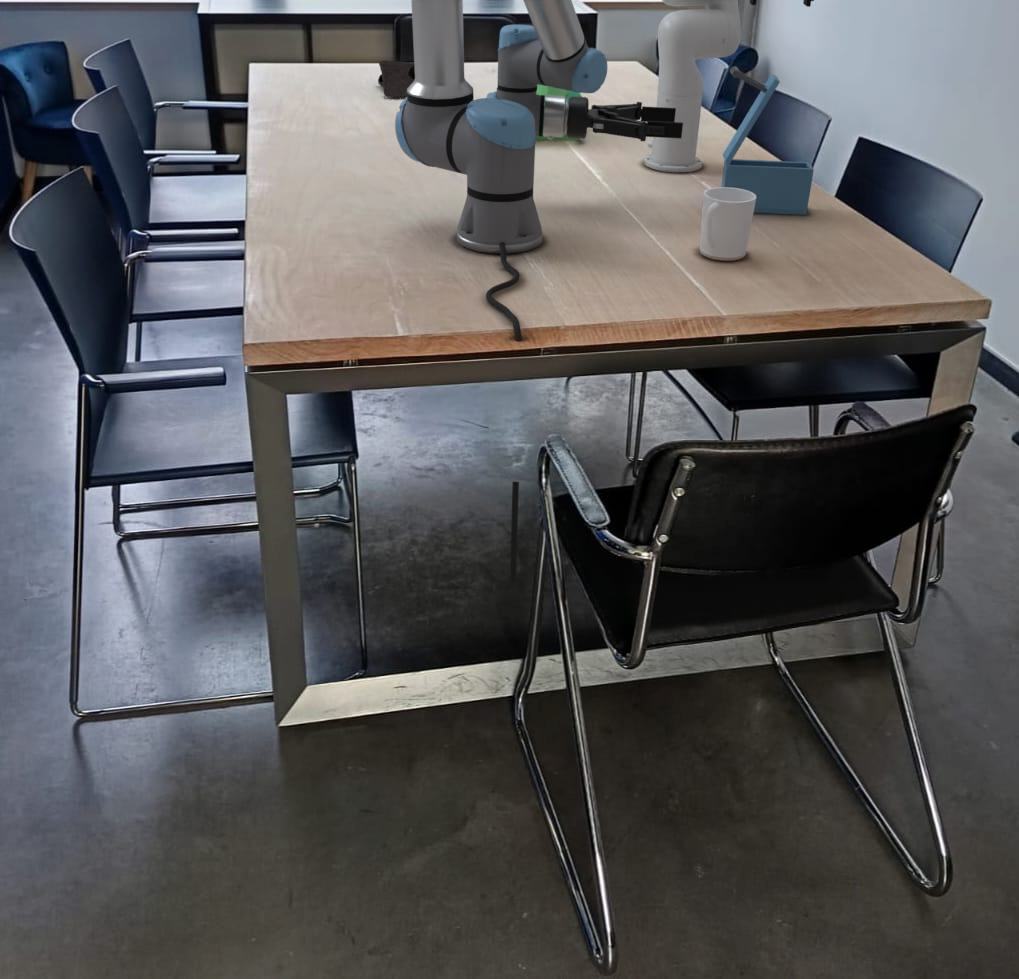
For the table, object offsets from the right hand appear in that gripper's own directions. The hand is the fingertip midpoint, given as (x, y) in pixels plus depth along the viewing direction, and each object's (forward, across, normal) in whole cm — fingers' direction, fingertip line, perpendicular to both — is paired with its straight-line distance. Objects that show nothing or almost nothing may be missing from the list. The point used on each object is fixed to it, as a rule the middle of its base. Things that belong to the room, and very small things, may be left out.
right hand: (779, 4), depth 196 cm
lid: (+20, +2, 0) cm, 20 cm away
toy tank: (+37, +42, -62) cm, 84 cm away
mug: (+37, +10, +28) cm, 47 cm away
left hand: (+21, +16, 0) cm, 26 cm away
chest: (+37, -2, 0) cm, 37 cm away
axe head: (+37, +80, -98) cm, 132 cm away
